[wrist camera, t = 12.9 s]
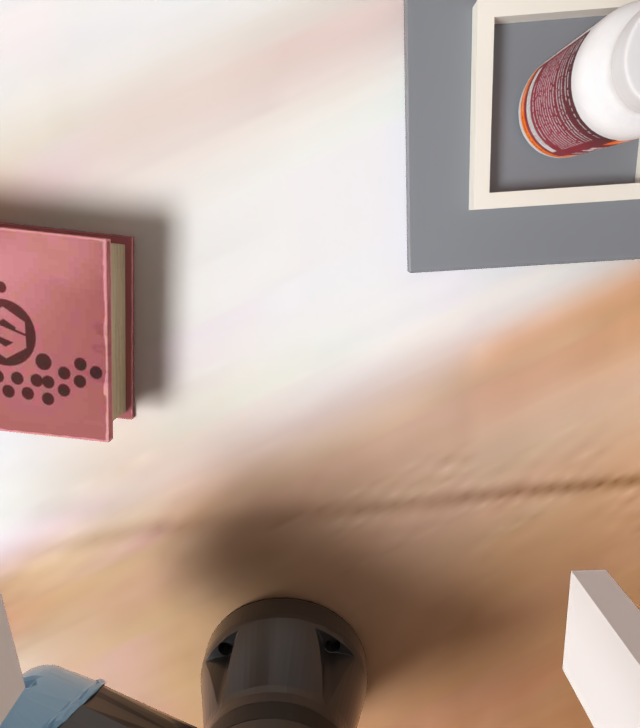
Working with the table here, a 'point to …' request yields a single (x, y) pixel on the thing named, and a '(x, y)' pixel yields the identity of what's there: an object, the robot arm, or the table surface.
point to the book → (65, 331)
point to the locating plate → (503, 144)
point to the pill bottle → (587, 90)
